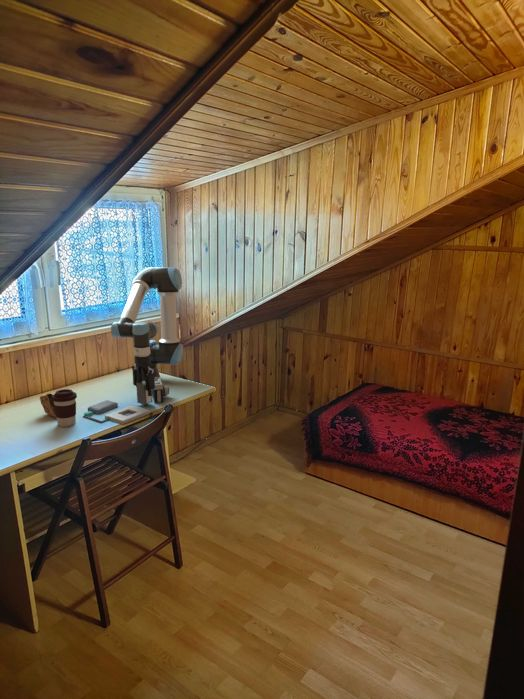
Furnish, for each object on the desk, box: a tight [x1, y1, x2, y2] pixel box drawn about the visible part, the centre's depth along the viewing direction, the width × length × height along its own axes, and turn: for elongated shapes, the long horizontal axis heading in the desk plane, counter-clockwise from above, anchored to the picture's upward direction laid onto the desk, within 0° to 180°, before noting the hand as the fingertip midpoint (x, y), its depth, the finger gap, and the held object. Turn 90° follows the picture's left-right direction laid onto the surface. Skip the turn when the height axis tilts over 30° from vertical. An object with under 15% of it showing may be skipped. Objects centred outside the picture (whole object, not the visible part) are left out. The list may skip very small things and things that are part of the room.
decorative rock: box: [39, 393, 57, 419], centre depth 212 cm, size 12×6×11 cm, turn 63°
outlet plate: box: [104, 404, 151, 425], centre depth 214 cm, size 16×12×2 cm
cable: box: [82, 411, 111, 424], centre depth 210 cm, size 5×13×1 cm, turn 57°
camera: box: [152, 377, 170, 404], centre depth 237 cm, size 14×8×10 cm, turn 19°
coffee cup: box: [52, 388, 78, 428], centre depth 201 cm, size 10×10×15 cm
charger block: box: [135, 381, 153, 406], centre depth 226 cm, size 5×5×10 cm
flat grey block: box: [87, 400, 119, 415], centre depth 222 cm, size 12×7×3 cm, turn 152°
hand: (144, 400), depth 227 cm, fingers closed on charger block, 5 cm apart
